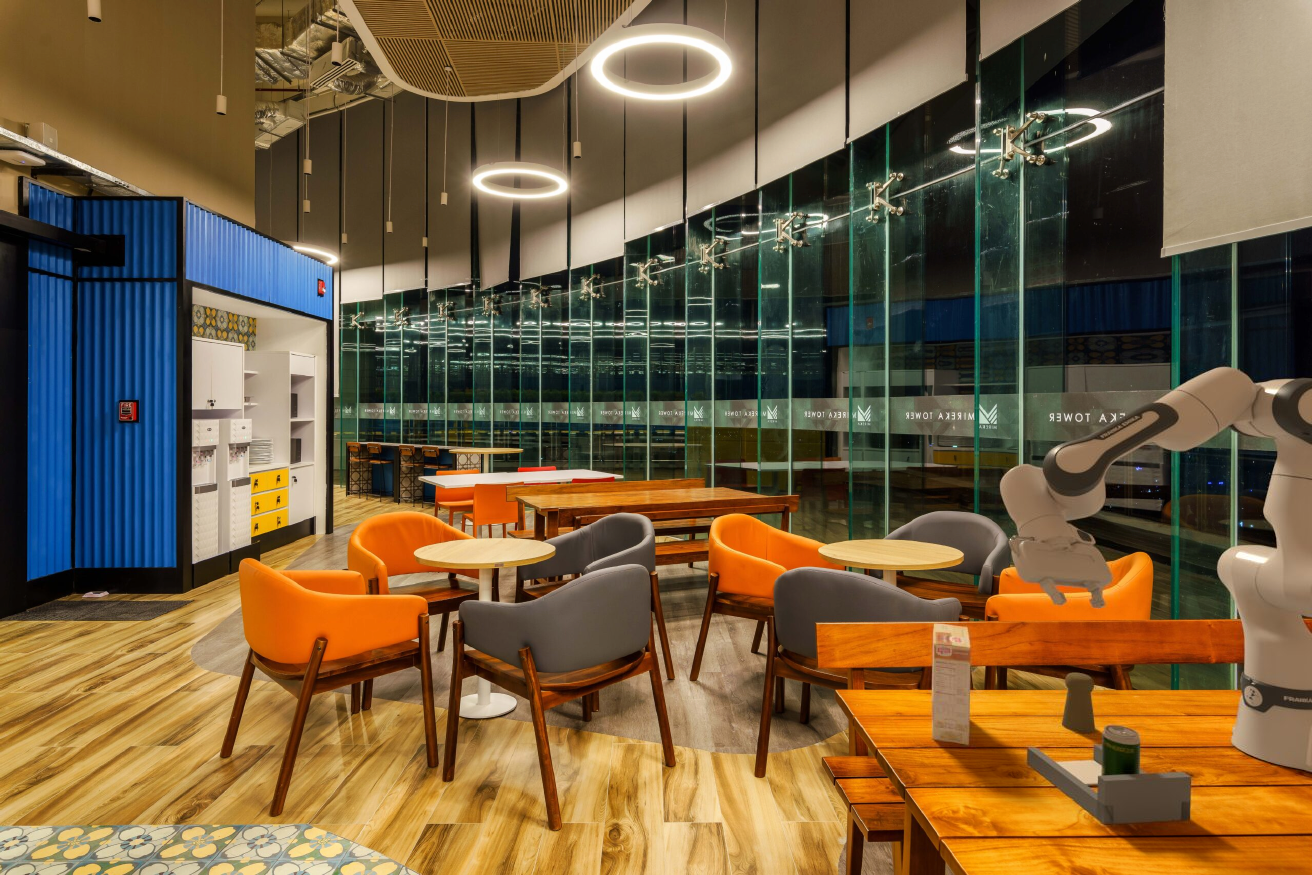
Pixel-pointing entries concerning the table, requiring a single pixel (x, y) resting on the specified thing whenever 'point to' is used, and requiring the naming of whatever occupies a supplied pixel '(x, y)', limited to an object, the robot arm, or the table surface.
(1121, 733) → the beer can
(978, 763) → the table surface
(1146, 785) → the bay
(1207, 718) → the table surface
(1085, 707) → the cork
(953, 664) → the coffeecake box
